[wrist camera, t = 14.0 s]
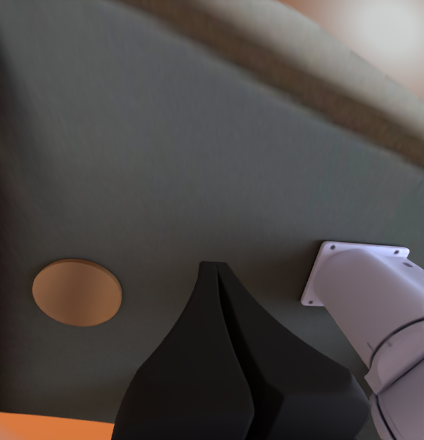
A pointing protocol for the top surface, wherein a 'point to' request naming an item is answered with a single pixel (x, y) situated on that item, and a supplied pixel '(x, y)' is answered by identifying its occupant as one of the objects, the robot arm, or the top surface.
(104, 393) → the top surface
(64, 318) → the cork coaster
